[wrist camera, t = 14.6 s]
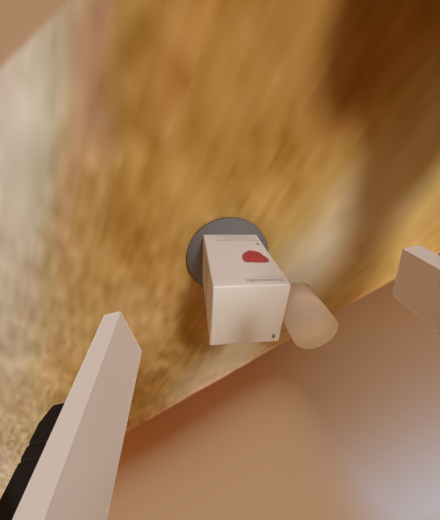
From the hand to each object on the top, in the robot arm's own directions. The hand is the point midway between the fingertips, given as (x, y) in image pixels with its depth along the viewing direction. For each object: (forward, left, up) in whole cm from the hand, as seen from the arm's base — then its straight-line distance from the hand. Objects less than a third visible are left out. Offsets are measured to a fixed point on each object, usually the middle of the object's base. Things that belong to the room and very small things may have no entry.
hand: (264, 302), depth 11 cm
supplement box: (+9, +8, -27) cm, 29 cm away
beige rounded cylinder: (+12, +25, -27) cm, 39 cm away
